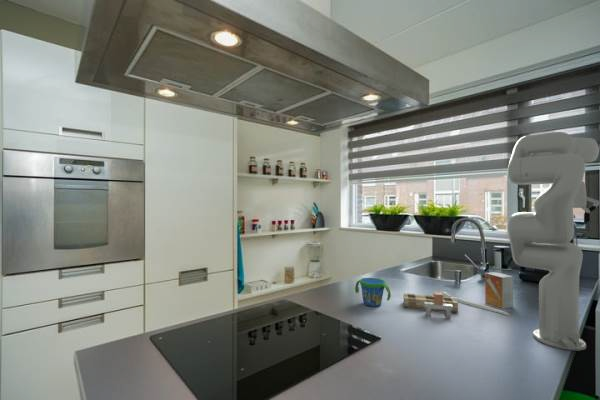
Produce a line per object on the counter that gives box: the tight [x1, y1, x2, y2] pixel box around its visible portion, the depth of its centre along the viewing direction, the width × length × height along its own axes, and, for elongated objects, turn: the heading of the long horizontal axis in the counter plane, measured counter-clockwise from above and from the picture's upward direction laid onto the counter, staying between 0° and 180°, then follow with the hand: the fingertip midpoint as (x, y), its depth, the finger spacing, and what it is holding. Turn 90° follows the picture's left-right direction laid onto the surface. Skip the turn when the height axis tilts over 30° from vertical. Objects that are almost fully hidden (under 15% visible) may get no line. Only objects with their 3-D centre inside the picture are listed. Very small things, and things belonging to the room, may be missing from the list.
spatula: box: [441, 291, 510, 316], centre depth 127 cm, size 28×4×3 cm, turn 34°
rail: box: [403, 292, 459, 314], centre depth 123 cm, size 7×20×4 cm, turn 73°
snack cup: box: [354, 277, 392, 308], centre depth 127 cm, size 16×10×10 cm
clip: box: [424, 291, 453, 319], centre depth 114 cm, size 3×10×9 cm, turn 73°
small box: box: [484, 271, 514, 310], centre depth 127 cm, size 8×6×13 cm
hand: (568, 222), depth 114 cm, fingers open, 9 cm apart
